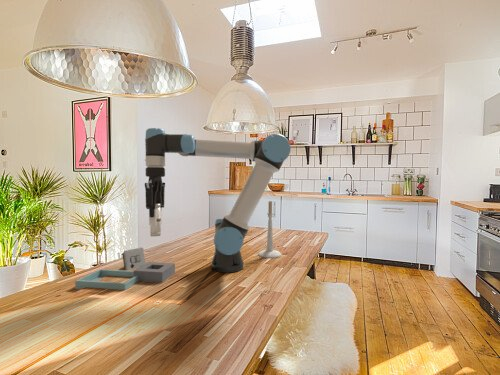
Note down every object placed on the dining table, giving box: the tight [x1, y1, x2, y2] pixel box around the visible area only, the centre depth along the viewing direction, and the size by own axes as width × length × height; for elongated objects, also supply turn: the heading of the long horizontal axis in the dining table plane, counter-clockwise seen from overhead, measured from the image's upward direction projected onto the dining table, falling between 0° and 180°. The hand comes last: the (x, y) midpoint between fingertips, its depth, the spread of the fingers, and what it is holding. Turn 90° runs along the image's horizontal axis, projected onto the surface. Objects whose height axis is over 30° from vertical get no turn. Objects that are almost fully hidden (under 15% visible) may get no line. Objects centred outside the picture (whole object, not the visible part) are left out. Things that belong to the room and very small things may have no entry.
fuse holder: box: [133, 261, 176, 284], centre depth 117 cm, size 12×12×5 cm
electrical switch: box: [121, 247, 147, 271], centre depth 131 cm, size 9×5×9 cm, turn 141°
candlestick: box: [257, 200, 282, 259], centre depth 156 cm, size 13×13×30 cm
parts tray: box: [74, 268, 139, 291], centre depth 111 cm, size 20×14×3 cm
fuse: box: [149, 203, 162, 237], centre depth 117 cm, size 4×4×13 cm
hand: (155, 224), depth 117 cm, fingers closed on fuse, 4 cm apart
